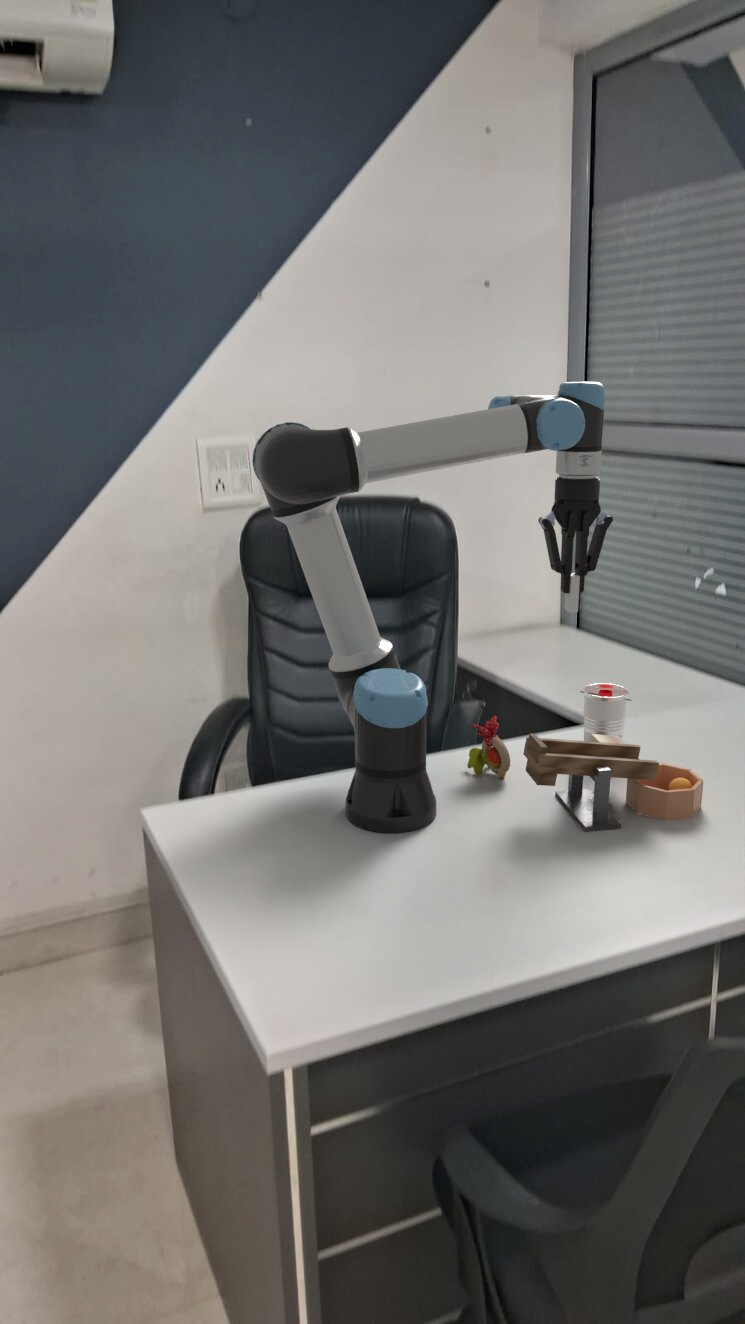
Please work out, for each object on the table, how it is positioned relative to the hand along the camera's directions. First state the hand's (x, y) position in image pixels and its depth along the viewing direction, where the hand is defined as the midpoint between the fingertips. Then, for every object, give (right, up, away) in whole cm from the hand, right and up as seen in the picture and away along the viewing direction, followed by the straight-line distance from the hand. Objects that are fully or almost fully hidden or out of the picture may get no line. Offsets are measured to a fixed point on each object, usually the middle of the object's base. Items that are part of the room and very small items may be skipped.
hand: (571, 610), depth 175 cm
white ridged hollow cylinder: (+9, -26, +16) cm, 32 cm away
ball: (+17, -31, -9) cm, 36 cm away
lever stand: (0, -34, -11) cm, 36 cm away
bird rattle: (-13, -30, +5) cm, 33 cm away
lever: (-1, -28, -9) cm, 29 cm away
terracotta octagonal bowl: (+14, -33, -8) cm, 37 cm away
